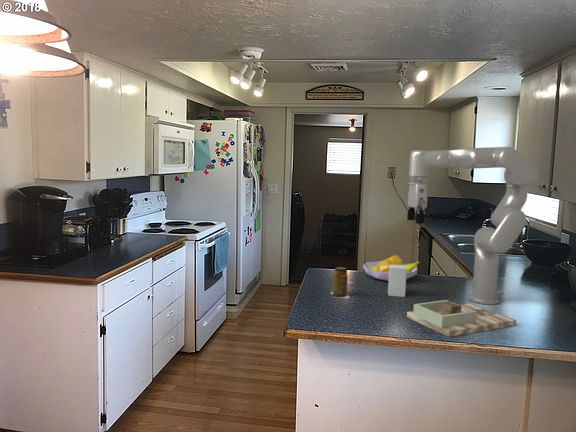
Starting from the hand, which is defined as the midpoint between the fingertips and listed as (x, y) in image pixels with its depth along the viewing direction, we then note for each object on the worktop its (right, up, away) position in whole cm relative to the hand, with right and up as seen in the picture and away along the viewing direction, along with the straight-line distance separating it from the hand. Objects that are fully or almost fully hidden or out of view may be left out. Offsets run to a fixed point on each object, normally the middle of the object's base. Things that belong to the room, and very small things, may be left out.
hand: (415, 221), depth 202 cm
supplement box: (-5, -32, +13) cm, 35 cm away
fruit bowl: (-2, -29, +41) cm, 50 cm away
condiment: (-30, -32, +9) cm, 45 cm away
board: (+11, -37, -21) cm, 44 cm away
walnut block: (+7, -35, -24) cm, 43 cm away
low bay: (+4, -35, -25) cm, 43 cm away
